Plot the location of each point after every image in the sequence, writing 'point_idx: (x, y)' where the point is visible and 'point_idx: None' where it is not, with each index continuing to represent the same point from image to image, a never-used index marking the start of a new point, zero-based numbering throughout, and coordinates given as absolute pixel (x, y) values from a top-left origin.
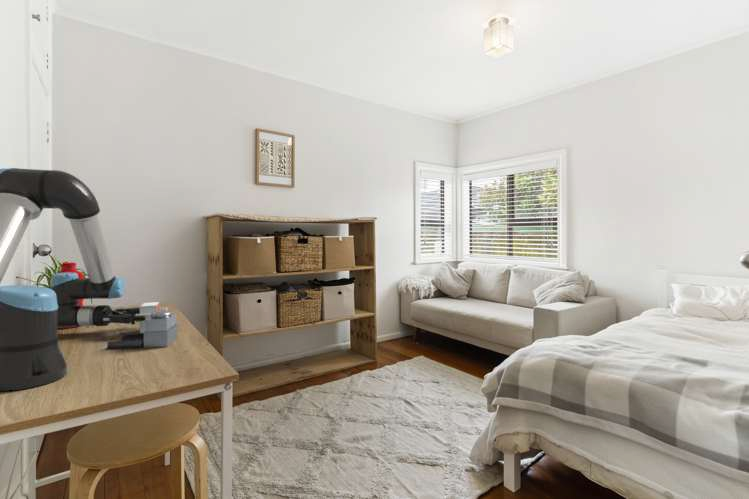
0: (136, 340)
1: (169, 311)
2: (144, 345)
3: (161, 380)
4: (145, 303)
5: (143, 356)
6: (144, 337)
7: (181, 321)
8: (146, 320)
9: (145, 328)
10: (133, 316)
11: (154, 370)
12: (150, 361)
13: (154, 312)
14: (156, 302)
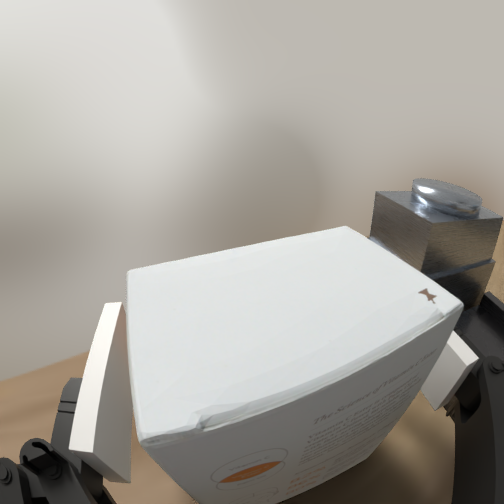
0: (477, 346)
1: (416, 181)
2: (478, 300)
3: (501, 227)
4: (245, 366)
5: (497, 275)
6: (488, 276)
7: (33, 376)
8: (499, 218)
9: (494, 248)
10: (491, 363)
11: (500, 240)
12: (495, 256)
13: (465, 199)
14: (162, 277)
